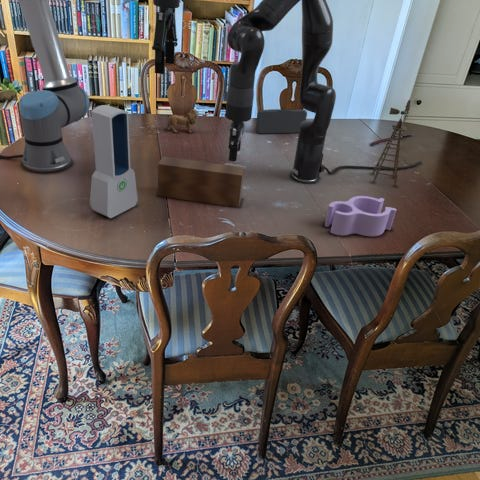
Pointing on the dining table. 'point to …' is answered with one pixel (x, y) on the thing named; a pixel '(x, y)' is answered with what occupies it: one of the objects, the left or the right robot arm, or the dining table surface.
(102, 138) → the electronic device
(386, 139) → the sword
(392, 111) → the miniature windmill
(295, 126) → the handheld gaming console
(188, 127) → the lion figurine
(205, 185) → the box
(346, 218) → the clip
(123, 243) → the dining table surface
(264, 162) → the dining table surface
